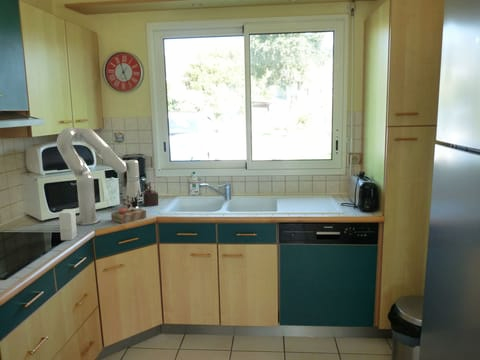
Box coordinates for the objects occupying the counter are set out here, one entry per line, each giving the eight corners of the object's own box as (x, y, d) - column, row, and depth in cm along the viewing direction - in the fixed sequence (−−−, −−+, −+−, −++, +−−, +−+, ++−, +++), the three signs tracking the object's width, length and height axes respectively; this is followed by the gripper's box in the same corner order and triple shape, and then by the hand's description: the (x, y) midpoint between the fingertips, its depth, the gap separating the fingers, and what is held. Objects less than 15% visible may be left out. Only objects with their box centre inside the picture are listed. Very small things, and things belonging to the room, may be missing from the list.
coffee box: (128, 209, 282) (127, 187, 279) (122, 208, 286) (121, 186, 283) (138, 207, 289) (137, 185, 286) (133, 206, 293) (131, 184, 290)
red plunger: (121, 217, 251) (120, 209, 250) (117, 216, 254) (116, 208, 253) (128, 216, 255) (127, 208, 254) (124, 214, 258) (123, 207, 257)
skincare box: (66, 235, 225) (63, 208, 223) (78, 235, 226) (75, 208, 223) (60, 240, 217) (58, 212, 214) (73, 240, 218) (70, 212, 215)
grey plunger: (133, 215, 258) (133, 208, 257) (129, 214, 261) (129, 207, 260) (140, 214, 261) (139, 206, 260) (136, 213, 264) (135, 205, 263)
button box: (121, 223, 248) (121, 216, 247) (111, 220, 256) (111, 212, 255) (146, 217, 261) (146, 210, 260) (136, 214, 269) (135, 207, 268)
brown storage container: (141, 203, 300) (140, 180, 296) (156, 202, 304) (155, 179, 301) (144, 208, 285) (143, 183, 282) (160, 206, 290) (159, 182, 286)
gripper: (121, 178, 259) (123, 206, 263) (134, 181, 249) (136, 210, 253) (131, 177, 265) (133, 204, 268) (144, 179, 255) (146, 207, 258)
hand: (135, 206), depth 260 cm, fingers closed
